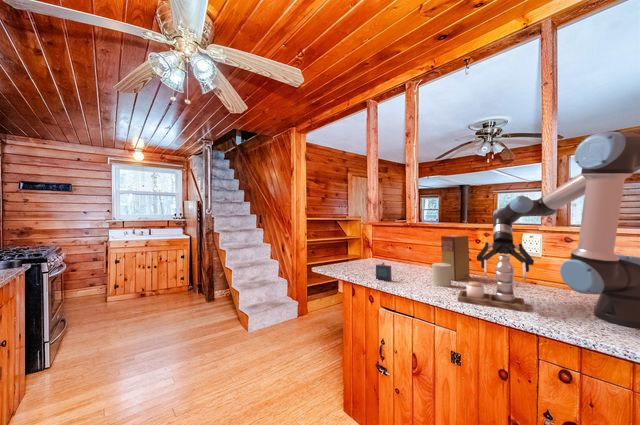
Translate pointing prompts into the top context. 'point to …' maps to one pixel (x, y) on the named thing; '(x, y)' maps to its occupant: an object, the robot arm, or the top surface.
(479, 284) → the jar
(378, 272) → the flask
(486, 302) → the caddy
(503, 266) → the plastic bottle
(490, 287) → the top surface
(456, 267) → the food packaging
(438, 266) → the can
